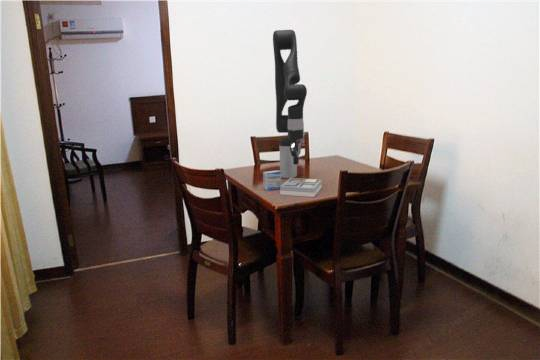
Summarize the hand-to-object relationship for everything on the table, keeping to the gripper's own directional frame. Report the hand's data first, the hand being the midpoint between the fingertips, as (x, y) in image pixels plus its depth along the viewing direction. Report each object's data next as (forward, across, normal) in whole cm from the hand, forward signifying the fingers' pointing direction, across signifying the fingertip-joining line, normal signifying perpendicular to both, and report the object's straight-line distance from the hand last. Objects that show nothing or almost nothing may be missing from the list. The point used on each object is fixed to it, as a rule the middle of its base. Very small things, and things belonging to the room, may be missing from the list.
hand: (296, 164), depth 193 cm
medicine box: (+12, +3, -11) cm, 17 cm away
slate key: (+9, +8, 0) cm, 12 cm away
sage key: (+10, +8, +7) cm, 15 cm away
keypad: (+12, +4, +4) cm, 13 cm away
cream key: (+9, 0, +7) cm, 12 cm away
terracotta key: (+10, 0, 0) cm, 10 cm away
